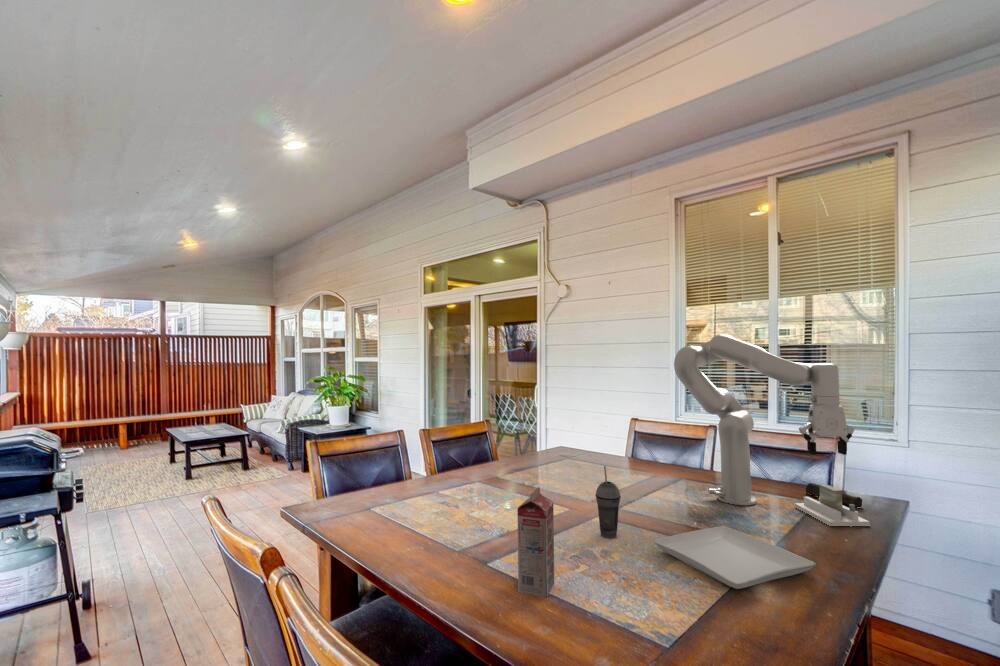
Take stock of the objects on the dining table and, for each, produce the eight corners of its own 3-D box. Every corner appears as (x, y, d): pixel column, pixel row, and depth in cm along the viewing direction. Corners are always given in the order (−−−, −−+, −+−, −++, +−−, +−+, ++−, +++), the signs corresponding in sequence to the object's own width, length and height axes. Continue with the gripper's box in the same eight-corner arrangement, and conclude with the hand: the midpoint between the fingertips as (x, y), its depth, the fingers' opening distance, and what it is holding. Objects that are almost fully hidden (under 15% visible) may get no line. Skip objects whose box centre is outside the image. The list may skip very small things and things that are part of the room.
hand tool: (863, 508, 162) (863, 494, 163) (855, 509, 161) (855, 495, 161) (811, 493, 180) (811, 481, 181) (803, 494, 179) (803, 482, 179)
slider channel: (830, 526, 145) (829, 507, 146) (794, 507, 163) (794, 490, 164) (869, 526, 145) (868, 507, 145) (829, 507, 163) (829, 490, 163)
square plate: (738, 601, 103) (737, 582, 103) (650, 553, 128) (650, 538, 128) (818, 576, 114) (818, 560, 114) (723, 537, 139) (723, 523, 139)
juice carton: (518, 592, 107) (517, 493, 108) (527, 578, 113) (526, 485, 114) (546, 597, 105) (545, 495, 106) (554, 583, 111) (553, 487, 112)
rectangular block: (835, 516, 150) (834, 490, 150) (820, 509, 157) (819, 484, 157) (842, 516, 150) (841, 490, 150) (827, 509, 157) (826, 484, 157)
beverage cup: (607, 542, 135) (605, 471, 135) (590, 533, 141) (589, 465, 142) (626, 537, 138) (625, 468, 139) (610, 529, 144) (608, 463, 145)
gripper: (806, 402, 152) (807, 456, 152) (860, 402, 152) (862, 456, 151) (792, 400, 160) (793, 451, 159) (844, 400, 160) (845, 451, 159)
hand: (827, 453), depth 155 cm, fingers open, 9 cm apart
